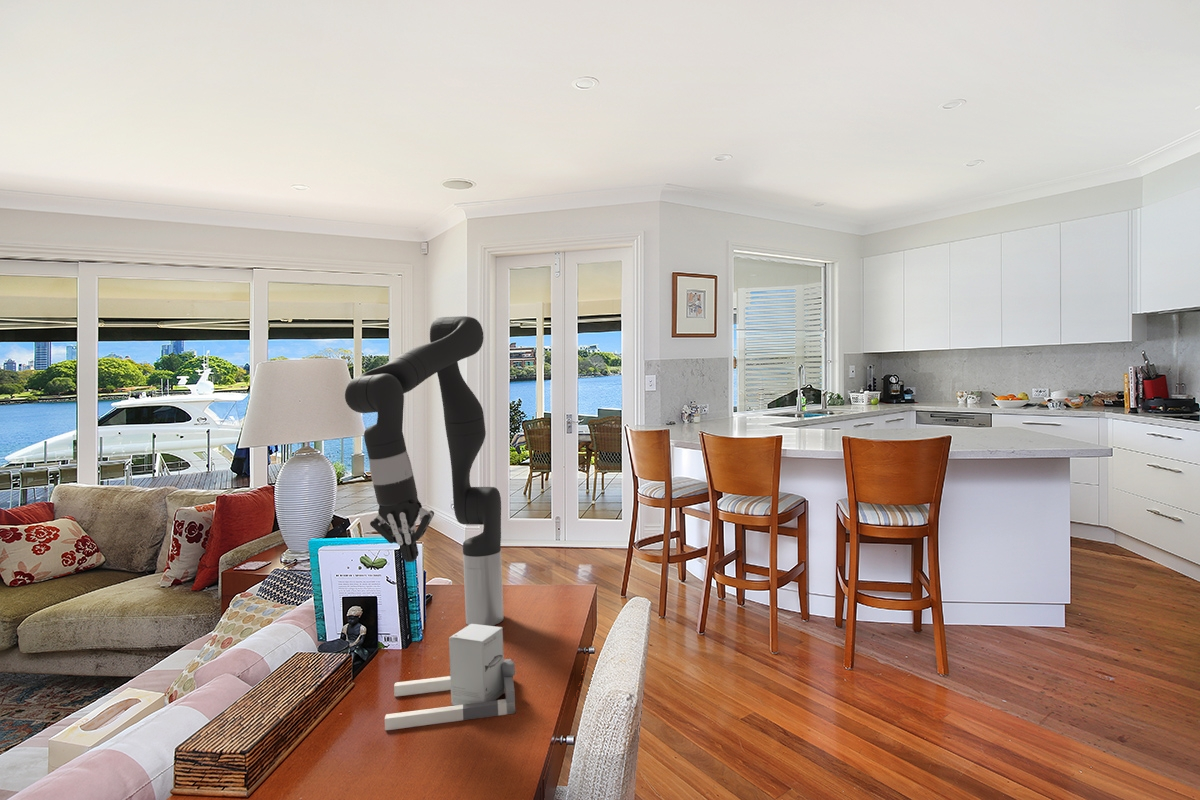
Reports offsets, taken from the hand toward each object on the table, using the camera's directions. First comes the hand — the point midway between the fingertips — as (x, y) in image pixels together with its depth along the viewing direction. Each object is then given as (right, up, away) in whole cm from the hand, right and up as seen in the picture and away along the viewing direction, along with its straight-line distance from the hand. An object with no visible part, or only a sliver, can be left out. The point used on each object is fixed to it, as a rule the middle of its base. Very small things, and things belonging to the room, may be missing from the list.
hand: (411, 560), depth 124 cm
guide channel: (+10, -24, -9) cm, 27 cm away
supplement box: (+15, -24, -7) cm, 29 cm away
